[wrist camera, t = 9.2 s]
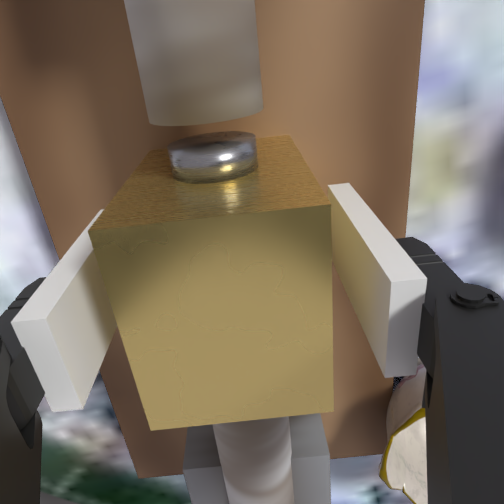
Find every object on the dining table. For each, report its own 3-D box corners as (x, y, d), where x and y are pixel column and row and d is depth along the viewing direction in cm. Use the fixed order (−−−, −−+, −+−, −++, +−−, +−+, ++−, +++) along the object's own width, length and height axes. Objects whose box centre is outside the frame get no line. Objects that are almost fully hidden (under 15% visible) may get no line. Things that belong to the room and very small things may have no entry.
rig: (423, -363, 11) (686, -924, 4) (376, 423, 24) (424, 553, 18) (-102, -299, 11) (-553, -758, 5) (145, 447, 25) (115, 583, 18)
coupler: (288, 111, 14) (330, 165, 8) (298, 294, 18) (333, 431, 11) (145, 127, 14) (76, 193, 8) (184, 306, 18) (157, 450, 11)
